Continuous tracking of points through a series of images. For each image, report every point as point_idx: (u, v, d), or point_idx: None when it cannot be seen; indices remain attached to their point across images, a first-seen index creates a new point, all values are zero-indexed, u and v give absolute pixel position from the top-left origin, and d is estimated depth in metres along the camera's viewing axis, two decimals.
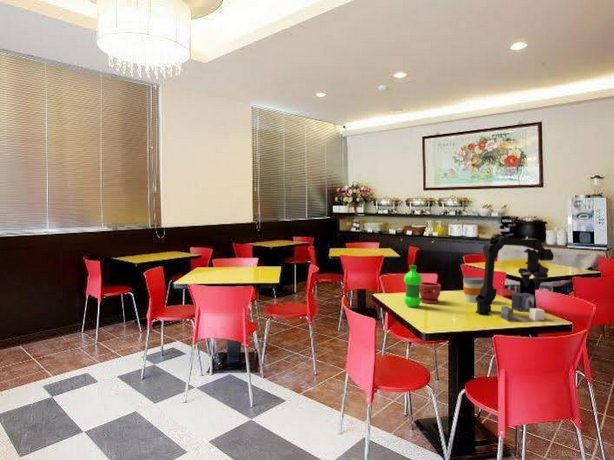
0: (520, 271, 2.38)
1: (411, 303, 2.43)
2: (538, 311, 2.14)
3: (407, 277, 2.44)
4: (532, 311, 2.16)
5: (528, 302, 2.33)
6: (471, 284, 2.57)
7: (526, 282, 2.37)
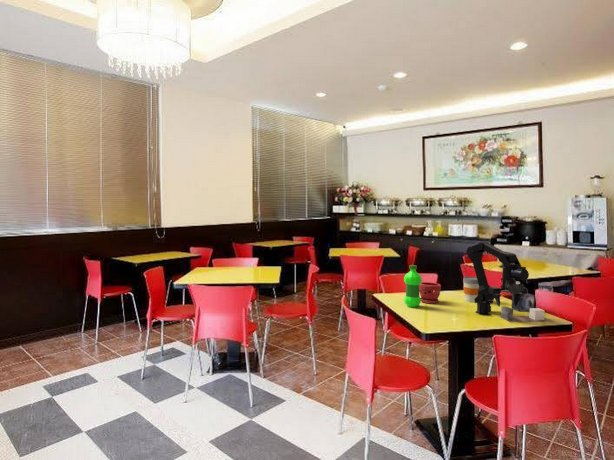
0: None
1: (411, 303, 2.43)
2: (538, 311, 2.14)
3: (407, 277, 2.44)
4: (532, 311, 2.16)
5: (528, 302, 2.33)
6: (471, 284, 2.57)
7: (514, 301, 2.16)
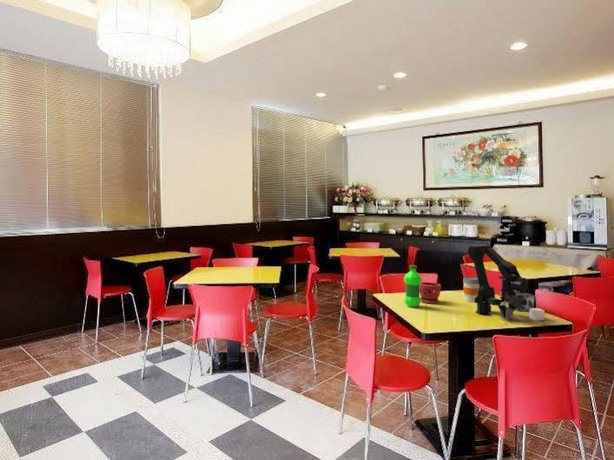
0: None
1: (411, 303, 2.43)
2: (538, 311, 2.14)
3: (407, 277, 2.44)
4: (532, 311, 2.16)
5: (528, 302, 2.33)
6: (471, 284, 2.57)
7: None
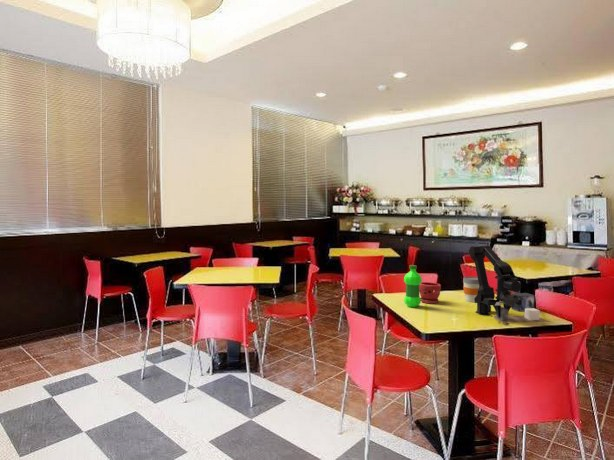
0: None
1: (411, 303, 2.43)
2: (533, 311, 2.14)
3: (407, 277, 2.44)
4: (527, 311, 2.16)
5: (528, 302, 2.33)
6: (471, 284, 2.57)
7: None
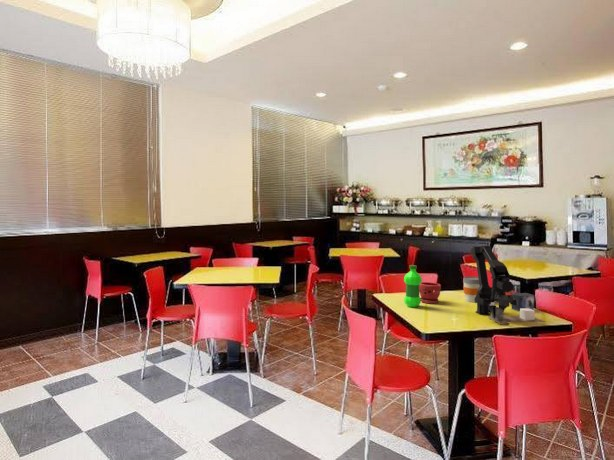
0: None
1: (411, 303, 2.43)
2: (528, 311, 2.14)
3: (407, 277, 2.44)
4: (523, 311, 2.16)
5: (528, 302, 2.33)
6: (471, 284, 2.57)
7: None
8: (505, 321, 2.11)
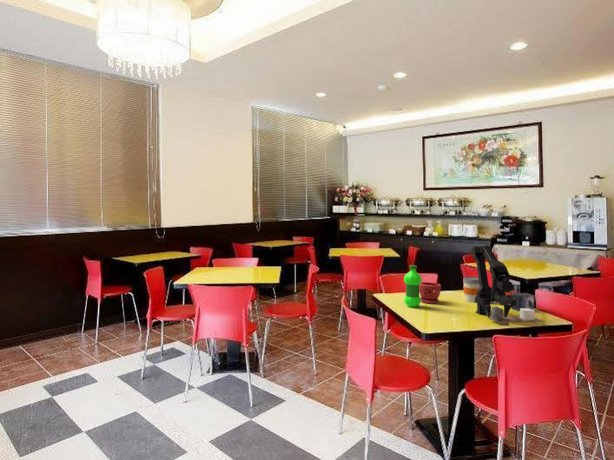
0: None
1: (411, 303, 2.43)
2: (528, 311, 2.14)
3: (407, 277, 2.44)
4: (523, 311, 2.16)
5: (528, 302, 2.33)
6: (471, 284, 2.57)
7: (504, 312, 2.16)
8: (505, 321, 2.11)
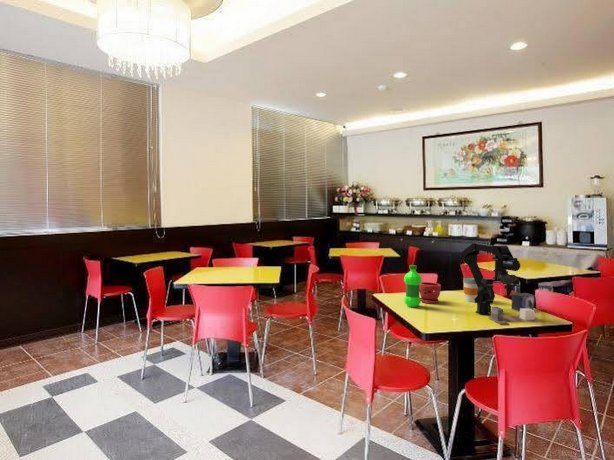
0: None
1: (411, 303, 2.43)
2: (528, 311, 2.14)
3: (407, 277, 2.44)
4: (523, 311, 2.16)
5: (528, 302, 2.33)
6: (471, 284, 2.57)
7: (507, 292, 2.21)
8: (505, 321, 2.11)
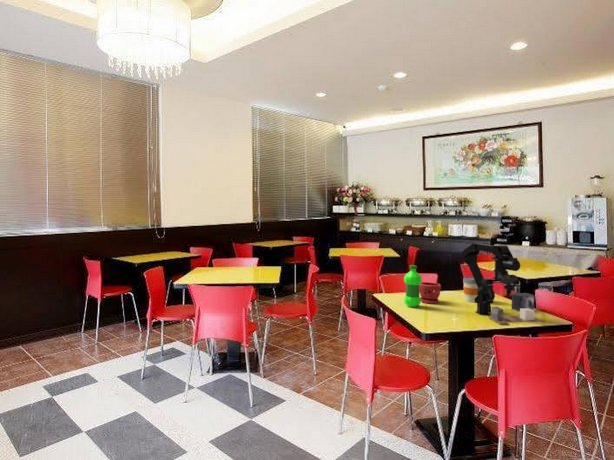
0: None
1: (411, 303, 2.43)
2: (528, 311, 2.14)
3: (407, 277, 2.44)
4: (523, 311, 2.16)
5: (528, 302, 2.33)
6: (471, 284, 2.57)
7: (507, 292, 2.21)
8: (505, 321, 2.11)
